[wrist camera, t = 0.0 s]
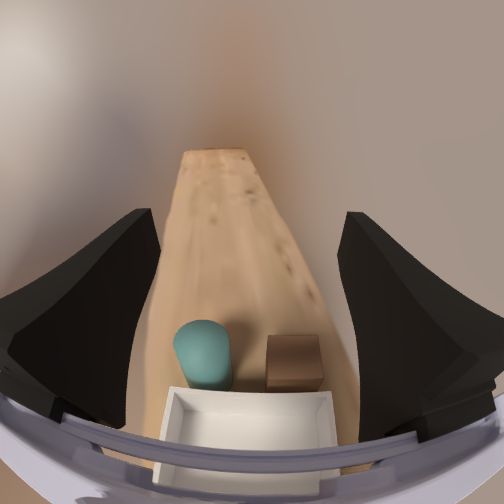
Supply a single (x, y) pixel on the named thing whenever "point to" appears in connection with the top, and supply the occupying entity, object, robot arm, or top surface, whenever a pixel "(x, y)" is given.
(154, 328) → the top surface
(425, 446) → the robot arm
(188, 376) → the teal cylinder
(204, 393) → the tote
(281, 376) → the walnut cube
